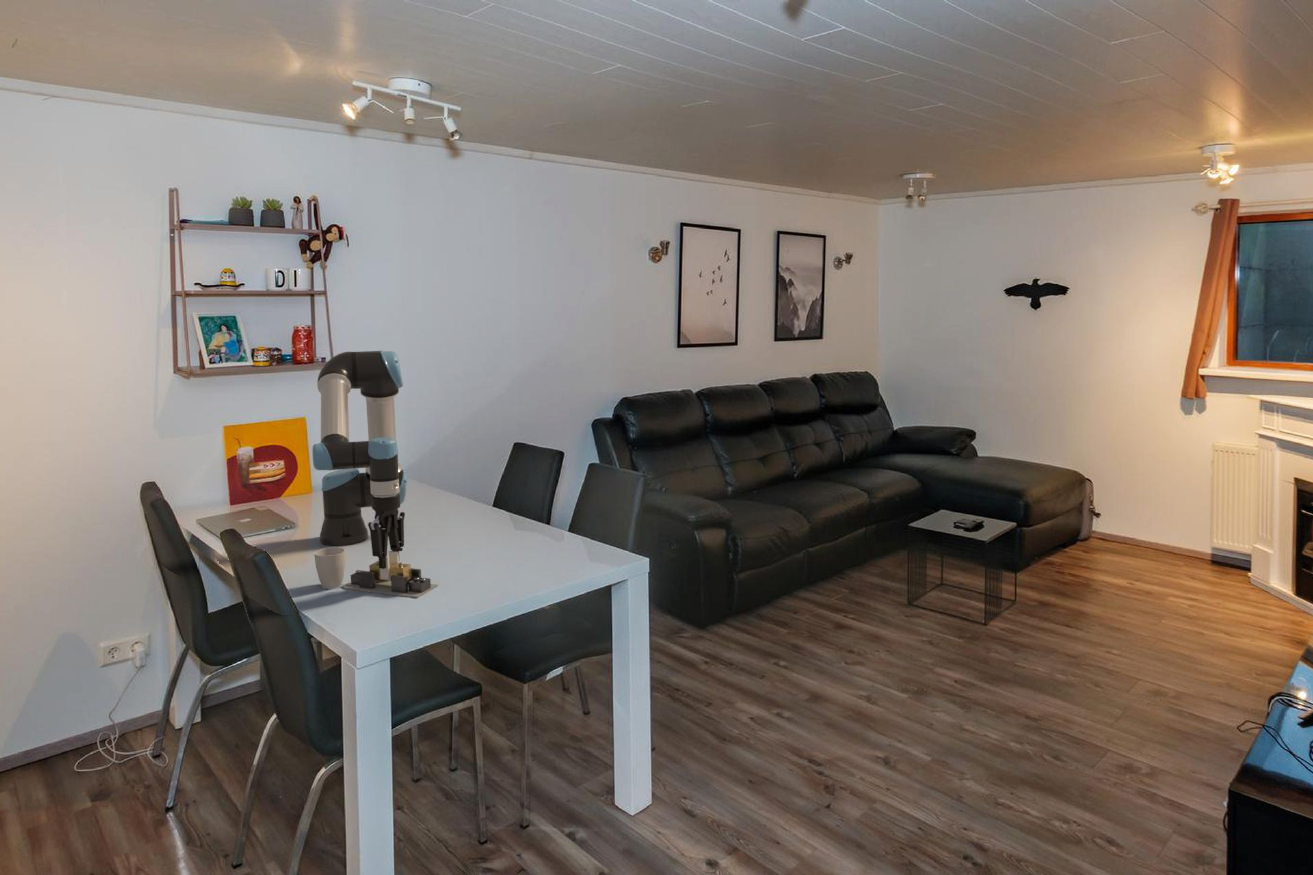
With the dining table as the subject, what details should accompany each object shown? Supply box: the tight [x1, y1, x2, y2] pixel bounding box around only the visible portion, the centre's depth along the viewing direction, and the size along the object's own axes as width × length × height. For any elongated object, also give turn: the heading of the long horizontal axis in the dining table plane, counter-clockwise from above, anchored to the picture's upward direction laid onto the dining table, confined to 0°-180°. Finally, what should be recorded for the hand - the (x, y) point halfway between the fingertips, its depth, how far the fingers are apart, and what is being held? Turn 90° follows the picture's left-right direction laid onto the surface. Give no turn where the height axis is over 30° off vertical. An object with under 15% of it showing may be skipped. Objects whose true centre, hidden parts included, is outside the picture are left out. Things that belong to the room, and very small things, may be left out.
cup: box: [313, 546, 346, 590], centre depth 232 cm, size 8×8×10 cm
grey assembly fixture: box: [350, 567, 432, 593], centre depth 231 cm, size 23×8×4 cm, turn 72°
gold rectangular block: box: [368, 560, 412, 581], centre depth 230 cm, size 11×4×5 cm, turn 72°
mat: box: [342, 580, 439, 599], centre depth 231 cm, size 24×10×1 cm, turn 72°
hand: (390, 576), depth 231 cm, fingers closed on gold rectangular block, 4 cm apart
